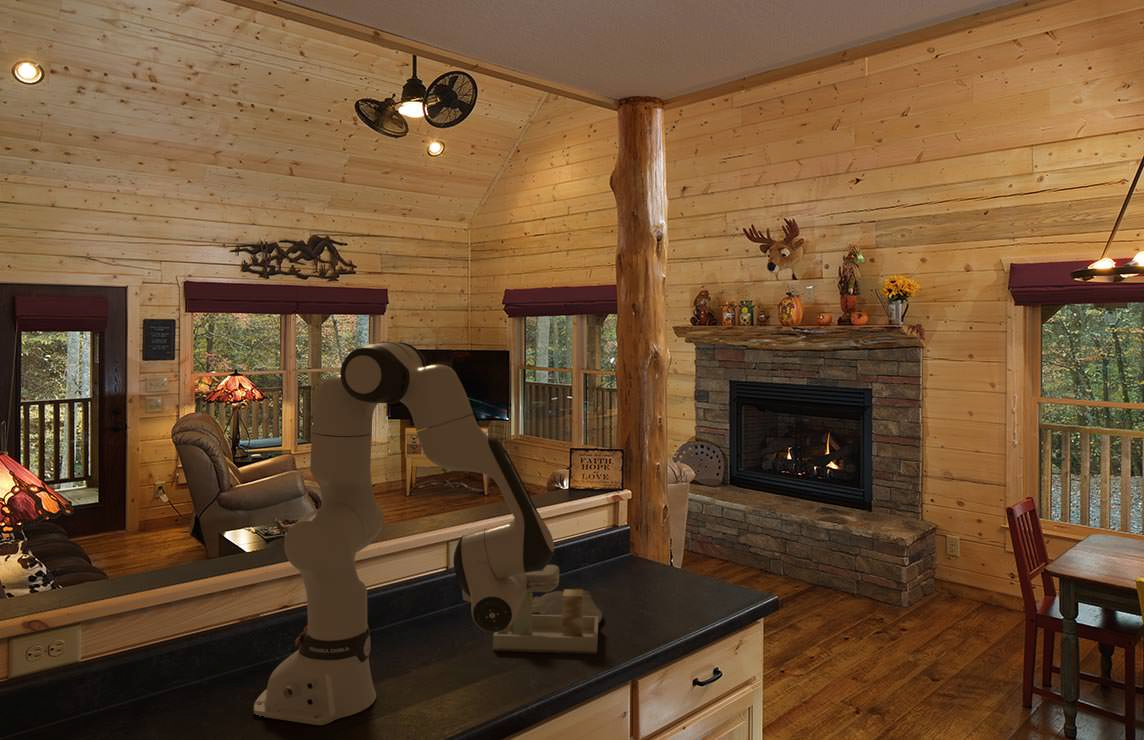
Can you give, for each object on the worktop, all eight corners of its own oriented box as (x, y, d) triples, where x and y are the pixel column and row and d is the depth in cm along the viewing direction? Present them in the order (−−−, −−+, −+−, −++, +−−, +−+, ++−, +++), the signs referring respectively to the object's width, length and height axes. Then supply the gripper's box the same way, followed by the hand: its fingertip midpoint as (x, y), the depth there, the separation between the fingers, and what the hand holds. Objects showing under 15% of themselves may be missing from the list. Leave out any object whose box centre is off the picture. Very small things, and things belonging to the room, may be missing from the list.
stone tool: (515, 609, 200) (559, 639, 179) (515, 596, 200) (558, 625, 178) (579, 594, 210) (628, 621, 188) (578, 582, 210) (627, 608, 188)
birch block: (562, 642, 174) (562, 595, 174) (563, 634, 179) (564, 589, 178) (581, 643, 174) (582, 596, 174) (582, 635, 179) (583, 589, 178)
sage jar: (509, 641, 175) (509, 590, 174) (512, 632, 180) (512, 583, 179) (531, 641, 174) (531, 591, 174) (533, 633, 179) (533, 583, 179)
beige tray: (493, 650, 171) (493, 635, 171) (502, 627, 184) (502, 613, 184) (596, 653, 169) (596, 638, 169) (598, 630, 183) (598, 616, 183)
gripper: (557, 571, 148) (562, 551, 162) (455, 569, 149) (468, 549, 163) (557, 603, 148) (562, 580, 162) (455, 600, 150) (468, 578, 163)
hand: (514, 564), depth 163 cm, fingers open, 8 cm apart
